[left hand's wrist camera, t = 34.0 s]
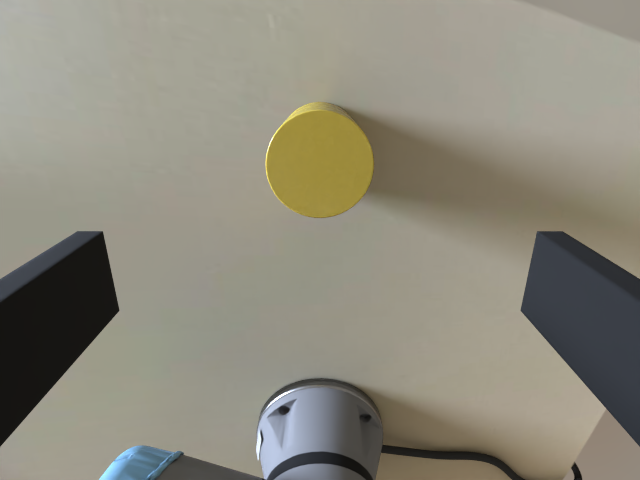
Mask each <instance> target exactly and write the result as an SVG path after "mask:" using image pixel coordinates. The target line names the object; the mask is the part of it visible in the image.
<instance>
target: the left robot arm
mask: <svg viewBox="0 0 640 480" xmlns="http://www.w3.org/2000/svg"><path fill="white" fill-rule="evenodd" d="M118 312H119V306H118V302H117V297H116V292H115V287H114V283H113V278H112V273H111V268H110V264H109V259H108V254H107V249H106V244H105V240H104V235H103V231H77V232H76V233H74V234H72V235H71V236H69V237H68V238H66V239H64V240H63V241H61V242H60V243H58V244H56V245H55V246H53V247H51V248H50V249H48V250H47V251H45V252H43V253H42V254H40V255H39V256H37V257H35V258H34V259H32V260H30V261H29V262H27V263H26V264H24V265H22V266H21V267H19V268H17V269H16V270H14V271H13V272H11V273H9V274H8V275H6V276H5V277H3V278H1V279H0V446H1V445H2V444H3V443H4V442H5V441H6V439H7V438H8V437H9V436H10V435H11V434H12V433H13V431H14V430H15V429H16V428H17V427H18V426H19V425H20V423H21V422H22V421H23V420H24V419H25V418H26V417H27V415H28V414H29V413H30V412H31V411H32V410H33V409H34V407H35V406H36V405H37V404H38V403H39V402H40V401H41V399H42V398H43V397H44V396H45V395H46V394H47V393H48V391H49V390H50V389H51V388H52V387H53V386H54V385H55V383H56V382H57V381H58V380H59V379H60V378H61V377H62V375H63V374H64V373H65V372H66V371H67V370H68V369H69V367H70V366H71V365H72V364H73V363H74V362H75V361H76V359H77V358H78V357H79V356H80V355H81V354H82V353H83V351H84V350H85V349H86V348H87V347H88V346H89V345H90V344H91V342H92V341H93V340H94V339H95V338H96V337H97V336H98V334H99V333H100V332H101V331H102V330H103V329H104V328H105V326H106V325H107V324H108V323H109V322H110V321H111V320H112V318H113V317H114V316H115V315H116V314H117V313H118ZM521 312H522V313H523V314H524V315H525V316H526V317H527V318H528V320H529V321H530V322H531V323H532V324H533V325H534V326H535V328H536V329H537V330H538V331H539V332H540V333H541V334H542V336H543V337H544V338H545V339H546V340H547V341H548V342H549V344H550V345H551V346H552V347H553V348H554V349H555V350H556V351H557V353H558V354H559V355H560V356H561V357H562V358H563V359H564V361H565V362H566V363H567V364H568V365H569V366H570V367H571V369H572V370H573V371H574V372H575V373H576V374H577V375H578V377H579V378H580V379H581V380H582V381H583V382H584V383H585V385H586V386H587V387H588V388H589V389H590V390H591V391H592V393H593V394H594V395H595V396H596V397H597V398H598V399H599V401H600V402H601V403H602V404H603V405H604V406H605V407H606V409H607V410H608V411H609V412H610V413H611V414H612V415H613V417H614V418H615V419H616V420H617V421H618V422H619V423H620V424H621V426H622V427H623V428H624V429H625V430H626V431H627V433H628V434H629V435H630V436H631V437H632V438H633V439H634V441H635V442H636V443H637V444H638V445H639V446H640V279H639V278H637V277H635V276H634V275H632V274H631V273H629V272H627V271H626V270H624V269H623V268H621V267H619V266H618V265H616V264H614V263H613V262H611V261H610V260H608V259H606V258H605V257H603V256H601V255H600V254H598V253H597V252H595V251H593V250H592V249H590V248H589V247H587V246H585V245H584V244H582V243H580V242H579V241H577V240H576V239H574V238H572V237H571V236H569V235H568V234H566V233H564V232H563V231H537V235H536V240H535V244H534V249H533V254H532V259H531V264H530V268H529V273H528V278H527V283H526V287H525V292H524V297H523V302H522V306H521ZM382 444H383V428H382V423H381V418H380V414H379V411H378V409H377V407H376V405H375V404H374V402H373V401H372V400H371V399H370V398H369V397H368V396H367V395H366V394H365V393H364V392H362V391H361V390H359V389H358V388H356V387H354V386H352V385H350V384H347V383H345V382H341V381H337V380H332V379H322V378H321V379H307V380H302V381H298V382H295V383H292V384H290V385H288V386H285V387H284V388H282V389H280V390H279V391H277V392H276V393H275V394H274V395H273V396H271V398H270V399H269V400H268V401H267V402H266V404H265V405H264V407H263V409H262V411H261V413H260V417H259V422H258V427H257V447H256V452H257V457H258V459H259V455H260V460H261V465H262V470H263V475H264V479H263V478H260V477H256V476H252V475H249V474H246V473H242V472H239V471H236V470H232V469H229V468H226V467H222V466H219V465H215V464H212V463H209V462H205V461H202V460H199V459H195V458H192V457H189V456H185V455H184V453H183V452H181V451H177V452H175V453H174V452H170V451H166V450H162V449H157V448H153V447H149V446H135V447H132V448H130V449H128V450H126V451H125V452H123V453H122V454H121V455H120V456H119V457H117V459H116V460H115V461H114V462H113V463H112V464H111V465H110V466H109V468H108V469H107V470H106V471H105V473H104V474H103V475H102V477H101V478H100V479H99V480H375V478H376V473H377V469H378V464H379V459H380V454H381V453H388V454H396V455H405V456H413V457H422V458H432V459H449V460H477V461H483V462H487V463H490V464H493V465H495V466H497V467H498V468H500V469H501V470H502V471H504V472H505V473H506V474H507V475H508V476H509V477H510V478H511V479H512V480H525V479H523V478H521V477H519V476H518V475H517V474H516V473H515V472H514V471H513V470H512V469H511V468H510V467H509V466H507V465H506V464H505V463H504V462H502V461H501V460H499V459H497V458H495V457H492V456H489V455H486V454H481V453H475V452H442V451H429V450H420V449H412V448H403V447H395V446H388V445H382ZM571 469H572V471H573V473H574V480H582V475H581V472H580V470H579V468H578V466H577V465H576V463H575V462H574V463H573V465H572V467H571Z"/></svg>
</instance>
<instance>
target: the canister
mask: <svg viewBox="0 0 640 480" xmlns="http://www.w3.org/2000/svg"><path fill="white" fill-rule="evenodd" d="M373 171H374V157H373V152H372V148H371V145H370V142H369V140H368V138H367V136H366V135H365V133H364V132H363V131H362V129H361V128H360V127H359V126H358V125H357V124H356V122H355V121H354V120H353V119H352V118H351V117H350V116H349V114H348V113H346V112H345V111H344V110H343V109H341V108H340V107H338V106H336V105H333V104H330V103H325V102H314V103H310V104H306V105H304V106H302V107H300V108H298V109H297V110H296V111H294V112H293V113H292V114H291V115H290V116H289V117H288V119H287V120H286V121H285V122H284V123H283V124H282V125H281V127H280V128H279V129H278V130H277V132H276V133H275V134H274V136H273V138H272V140H271V142H270V144H269V147H268V150H267V154H266V173H267V177H268V181H269V184H270V186H271V188H272V190H273V192H274V193H275V195H276V196H277V197H278V199H279V200H280V201H281V202H282V203H283V204H284V205H285V206H287V207H288V208H289V209H291V210H293V211H294V212H296V213H299V214H301V215H304V216H308V217H314V218H325V217H332V216H336V215H338V214H341V213H343V212H345V211H347V210H349V209H350V208H352V207H353V206H354V205H355V204H356V203H358V202H359V200H360V199H361V198H362V197H363V196H364V194H365V193H366V191H367V189H368V187H369V185H370V183H371V180H372V176H373Z"/></svg>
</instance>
